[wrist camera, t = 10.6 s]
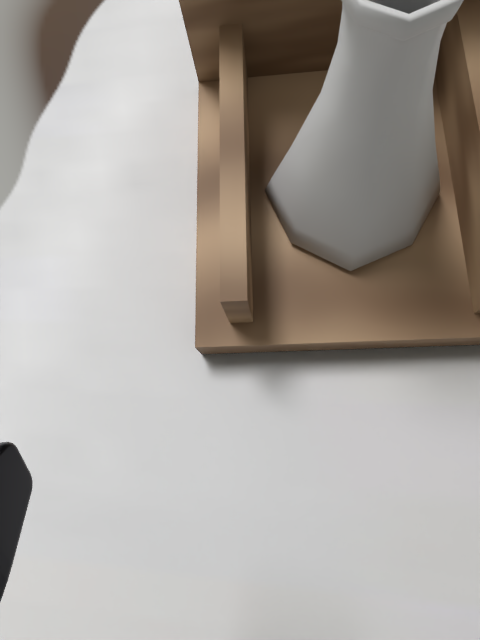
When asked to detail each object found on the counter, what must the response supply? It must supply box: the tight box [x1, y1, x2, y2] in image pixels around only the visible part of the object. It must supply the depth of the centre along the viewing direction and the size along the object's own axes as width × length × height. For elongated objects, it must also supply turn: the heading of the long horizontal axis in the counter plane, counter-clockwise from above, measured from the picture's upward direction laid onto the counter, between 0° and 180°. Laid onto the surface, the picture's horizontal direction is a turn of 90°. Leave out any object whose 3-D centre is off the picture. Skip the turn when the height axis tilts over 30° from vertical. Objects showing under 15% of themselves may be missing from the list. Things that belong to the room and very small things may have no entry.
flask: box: [265, 0, 463, 271], centre depth 15 cm, size 7×7×10 cm
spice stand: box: [179, 0, 480, 354], centre depth 16 cm, size 15×14×12 cm
